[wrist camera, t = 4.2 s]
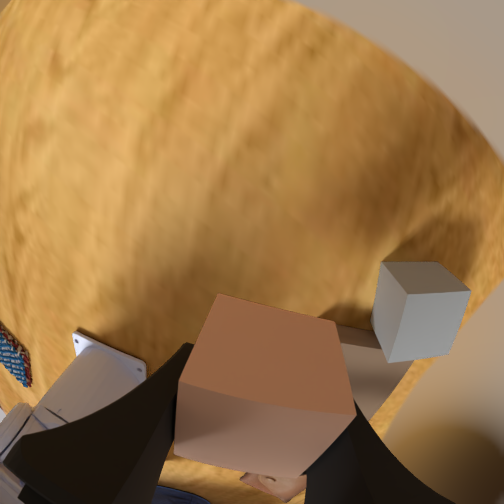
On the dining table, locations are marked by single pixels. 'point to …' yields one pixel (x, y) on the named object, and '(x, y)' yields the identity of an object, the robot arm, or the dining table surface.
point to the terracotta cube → (262, 390)
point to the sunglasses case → (277, 484)
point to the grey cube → (417, 310)
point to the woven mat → (14, 358)
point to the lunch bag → (175, 497)
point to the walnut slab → (369, 368)
